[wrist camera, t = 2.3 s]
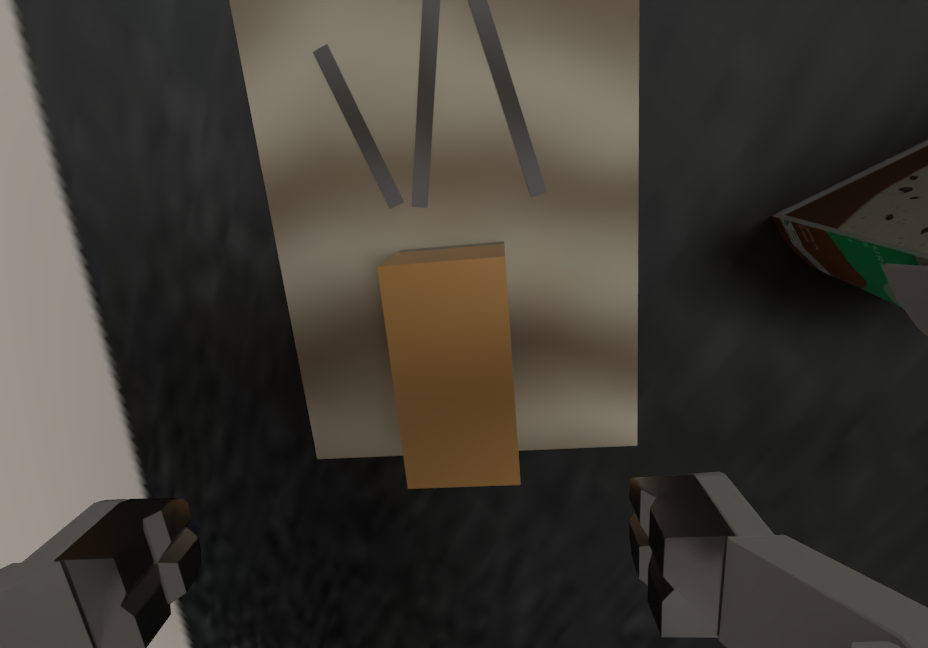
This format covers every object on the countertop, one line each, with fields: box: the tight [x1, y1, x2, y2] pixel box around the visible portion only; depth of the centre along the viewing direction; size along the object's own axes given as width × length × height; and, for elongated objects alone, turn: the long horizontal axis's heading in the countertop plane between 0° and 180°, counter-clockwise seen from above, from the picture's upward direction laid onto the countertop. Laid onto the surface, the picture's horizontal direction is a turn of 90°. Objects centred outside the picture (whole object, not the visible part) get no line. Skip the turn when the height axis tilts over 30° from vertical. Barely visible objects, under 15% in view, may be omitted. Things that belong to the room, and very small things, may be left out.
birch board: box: [229, 0, 639, 459], centre depth 19 cm, size 22×14×2 cm, turn 5°
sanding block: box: [377, 241, 521, 489], centre depth 18 cm, size 8×4×4 cm, turn 5°
